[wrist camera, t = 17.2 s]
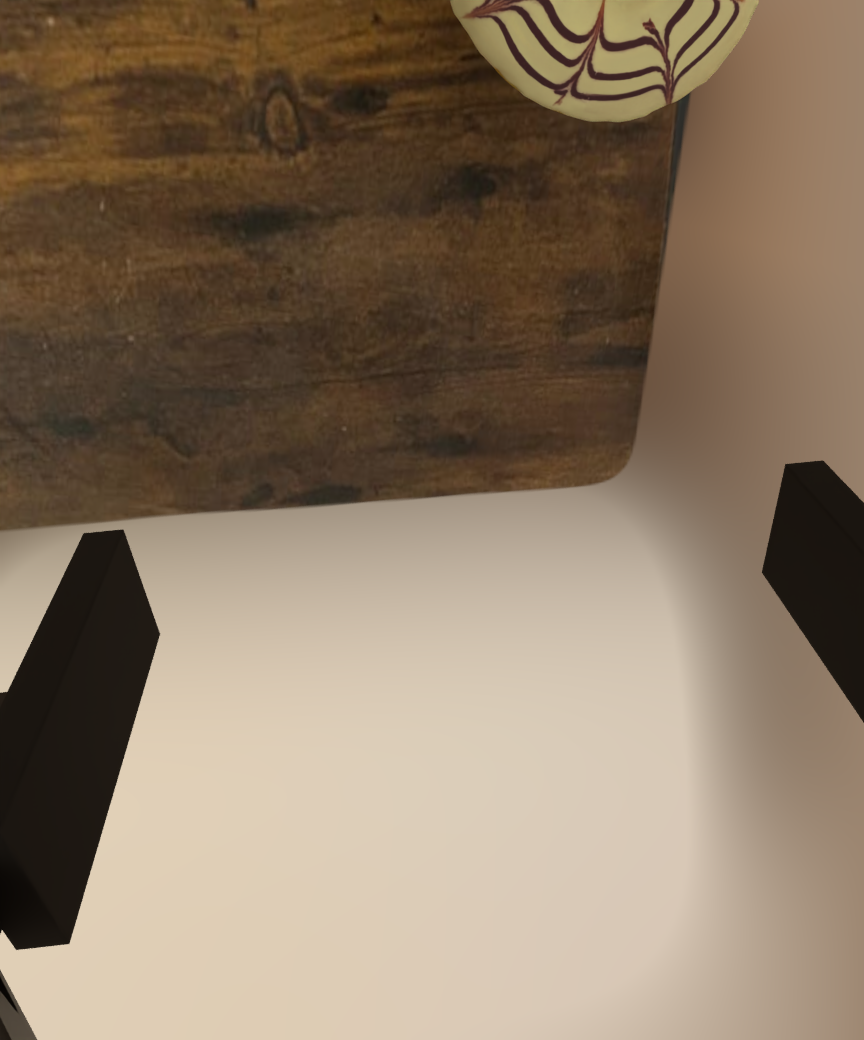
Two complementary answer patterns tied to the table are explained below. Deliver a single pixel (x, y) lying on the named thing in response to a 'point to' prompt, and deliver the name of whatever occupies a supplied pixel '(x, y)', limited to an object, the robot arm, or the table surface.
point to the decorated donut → (605, 49)
